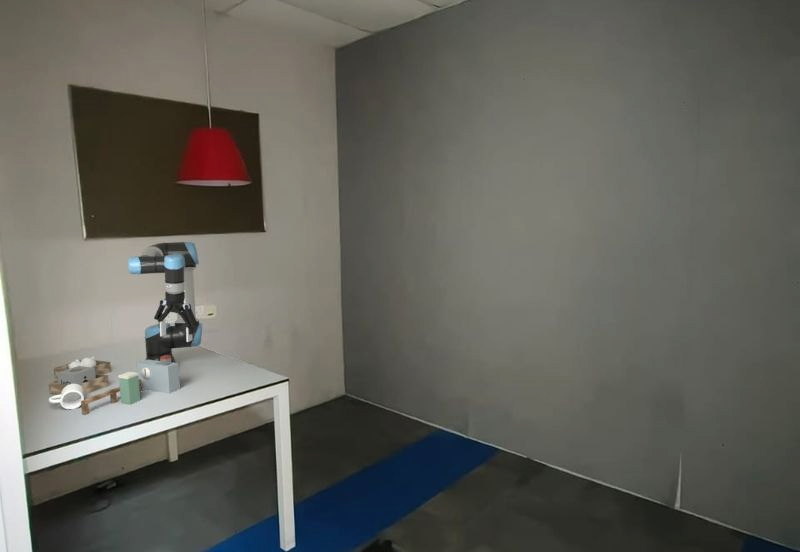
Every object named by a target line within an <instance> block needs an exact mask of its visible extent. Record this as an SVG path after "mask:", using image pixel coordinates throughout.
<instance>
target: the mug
mask: <svg viewBox="0 0 800 552" xmlns="http://www.w3.org/2000/svg"><path fill="white" fill-rule="evenodd" d="M82 400H85V395H84V389H83V387H82V386H81V385H79V384H69V385H67V386H66V387H64V388H63V390H62V392H61V394H60V395H53V396H50V397H49V398H48V403H50V404H59V405H60V406H61V407H62V408H63V409H65V410H69V409H72V410H77V409H78V408H79V407H80V408H81V401H82ZM69 411H70V410H69Z"/></svg>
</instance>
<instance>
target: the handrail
mask: <svg viewBox="0 0 800 552" xmlns="http://www.w3.org/2000/svg"><path fill="white" fill-rule="evenodd" d="M139 391H140V393H142V392H143V390H142V383H141V380H140V379H139ZM141 391H142V392H141ZM117 393H120V385H119V386H117V387H115V388H112V389H109V390H106V391H104V392H102V393H99V394H96V395H94V396H93V395H92V396H91V397H88V398H84V400H82V401H81V406H80V408H81V415H84V416H86V415H88V414H90V413H89V404H92V403H93V402H95V401H98V400H101V399H104V398H106V397H110V403H111V404H115V403H117V402H118V397H117Z"/></svg>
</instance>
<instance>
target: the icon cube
mask: <svg viewBox="0 0 800 552" xmlns="http://www.w3.org/2000/svg"><path fill="white" fill-rule="evenodd" d="M57 376H58V378H57V380H58V383H59V384H66V385H69V384H82V383H85V382H88V381H91V380H94V379H96V375H95V368H91V367H83V366H77V367H74V368H71V369H67V370H64V371H61V372H57Z"/></svg>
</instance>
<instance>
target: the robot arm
mask: <svg viewBox="0 0 800 552" xmlns="http://www.w3.org/2000/svg"><path fill="white" fill-rule="evenodd" d="M199 264H200V263H199V256H198V252H197V248H196V245H195V243H194V242H191V241H190V242H189V241H181V242H180V241H179V242H177V241H175V242H174V241H173V242H160V243H156V244H155V243H154V244H152V245H150V246H148V247H146V248H144V249H143V251H142V253H141V255H139V256H137V255H136V256H130V257H128V259H127V269H128V272H129V274H130V275H145V274H146V275H147V274H164V287H165V288H164V290H165V294H164V295H165V299H161V300H159V306H158V308H157V310H156V312H155V315H154V316H153V319H154V320H156V321H157V322H158V323H156V324H152V325H150V326H148V327H146V329H145V330H144V339H145V342H144V343H145V354H146V358H145V360H156V361H160V357H161V356H164V355H170V356H171V362H173V363H177V361H176V360H175V357H174V355H173V350H172V349H182V348H193V347H198V346H200V345H201V344H202V343H201V342H202V336H203V335H202V334H203V323H201V322H200V319H198V317H197V315H196V299H195V282H194V281H195V280H194V271H195V270H196V268H197V265H199ZM170 313H175V314H177V318H176V320H175V321H174V325H171V324H170V322H166V318H167V317H168V315H169V314H170Z"/></svg>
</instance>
